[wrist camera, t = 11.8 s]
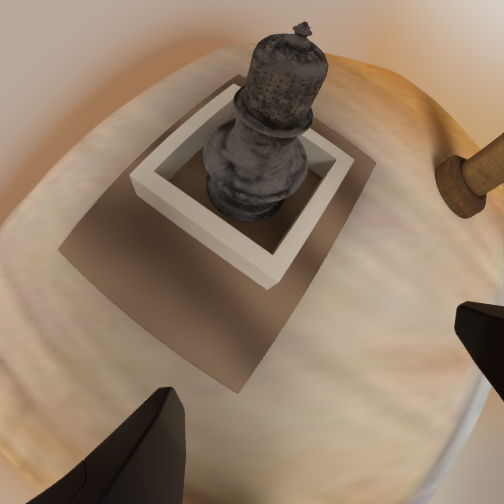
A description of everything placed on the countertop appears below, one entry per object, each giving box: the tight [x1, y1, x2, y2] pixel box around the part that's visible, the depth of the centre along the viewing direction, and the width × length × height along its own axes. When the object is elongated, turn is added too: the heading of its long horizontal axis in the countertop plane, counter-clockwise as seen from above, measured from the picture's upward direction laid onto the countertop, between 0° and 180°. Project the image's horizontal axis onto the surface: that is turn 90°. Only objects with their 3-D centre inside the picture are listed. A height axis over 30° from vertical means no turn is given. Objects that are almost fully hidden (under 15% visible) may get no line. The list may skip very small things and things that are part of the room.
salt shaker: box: [203, 22, 328, 223], centre depth 13 cm, size 6×6×12 cm
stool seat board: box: [58, 74, 376, 394], centre depth 17 cm, size 20×14×4 cm
